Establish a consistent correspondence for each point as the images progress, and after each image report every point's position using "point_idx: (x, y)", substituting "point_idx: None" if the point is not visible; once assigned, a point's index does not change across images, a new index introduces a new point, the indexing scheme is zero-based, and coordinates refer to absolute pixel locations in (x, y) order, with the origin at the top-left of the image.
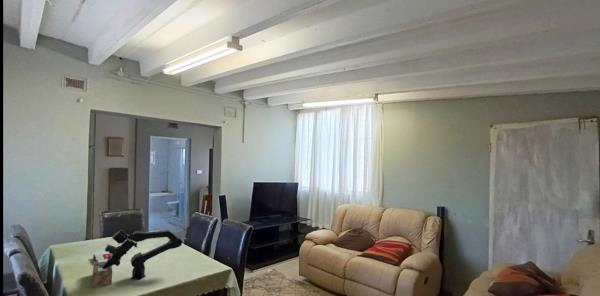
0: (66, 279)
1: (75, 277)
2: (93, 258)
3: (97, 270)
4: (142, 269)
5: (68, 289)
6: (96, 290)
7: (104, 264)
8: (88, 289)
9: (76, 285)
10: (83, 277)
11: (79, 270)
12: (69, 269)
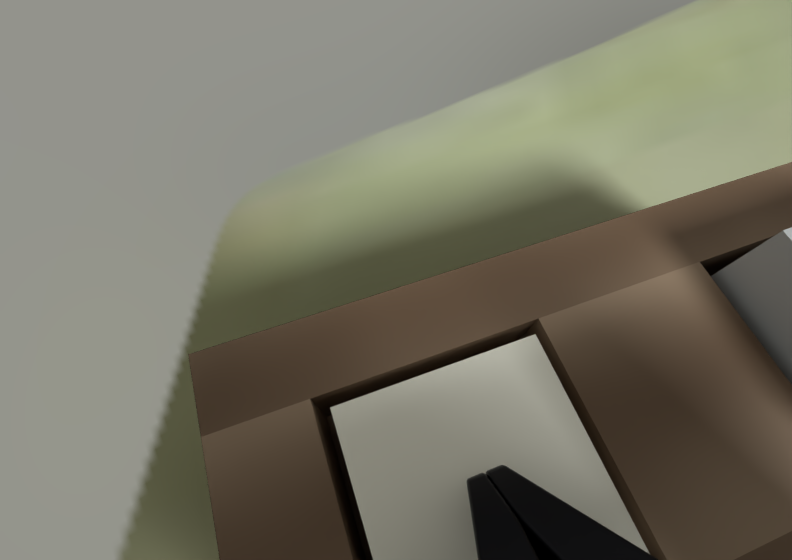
0: (530, 83)
1: (590, 129)
2: None
3: None
4: None
5: (259, 185)
6: (129, 525)
7: (580, 522)
8: None
9: (364, 214)
10: (601, 194)
11: (780, 96)
12: (773, 24)
